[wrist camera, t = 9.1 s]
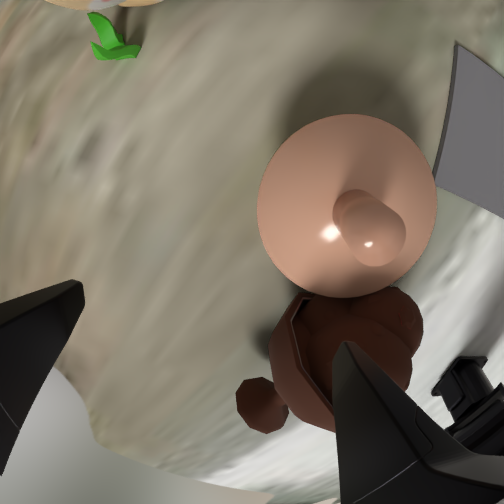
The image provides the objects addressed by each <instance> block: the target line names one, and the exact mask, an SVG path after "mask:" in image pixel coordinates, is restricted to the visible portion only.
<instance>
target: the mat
mask: <svg viewBox="0 0 504 504" xmlns="http://www.w3.org/2000/svg"><path fill="white" fill-rule="evenodd" d="M432 174H433V178H434V182H435V185H436V186H438V187H440V188H443V189H445V190H447V191H449V192H452V193H454V194H456V195H458V196H460V197H462V198H464V199H466V200H469V201H471V202H473V203H475V204H477V205H479V206H481V207H483V208H484V209H486V210H488V211H490V212H492V213H494V214H496V215H498V216H499V217H501V218H503V219H504V78H503V77H502V76H500V75H499V74H498V73H497V72H495V71H494V70H493V69H492V68H490V67H489V66H488V65H486V64H485V63H484V62H482V61H481V60H480V59H478V58H477V57H476V56H474V55H473V54H471V53H470V52H468V51H467V50H465V49H464V48H462V47H461V46H459V45H456V46H454V59H453V69H452V78H451V86H450V93H449V99H448V106H447V111H446V117H445V122H444V127H443V132H442V136H441V141H440V145H439V149H438V154H437V158H436V161H435V165H434V169H433V173H432Z"/></svg>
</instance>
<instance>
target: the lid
mask: <svg viewBox="0 0 504 504" xmlns="http://www.w3.org/2000/svg"><path fill="white" fill-rule="evenodd" d="M436 211H437V194H436V187H435V182H434V178H433V174H432V171H431V169H430V166H429V164H428V162H427V160H426V158H425V156H424V155H423V153H422V152H421V150H420V149H419V147H418V146H417V145H416V144H415V143H414V142H413V140H412V139H411V138H410V137H408V136H407V135H406V134H405V133H404V132H403V131H401V130H400V129H398V128H397V127H395V126H394V125H392V124H390V123H388V122H386V121H383V120H381V119H378V118H375V117H371V116H367V115H360V114H341V115H335V116H329V117H325V118H322V119H319V120H316V121H314V122H312V123H310V124H308V125H306V126H304V127H302V128H300V129H299V130H298V131H296V132H295V133H293V134H292V135H291V136H290V137H289V138H288V139H287V140H285V141H284V142H283V143H282V145H281V146H280V147H279V148H278V149H277V151H276V152H275V153H274V155H273V156H272V158H271V160H270V161H269V163H268V165H267V167H266V170H265V172H264V174H263V177H262V181H261V184H260V188H259V194H258V202H257V219H258V226H259V231H260V235H261V239H262V242H263V244H264V246H265V249H266V251H267V253H268V255H269V256H270V258H271V259H272V261H273V263H274V264H275V265H276V266H277V268H278V269H279V270H280V271H281V272H282V273H283V274H284V275H285V276H286V277H287V278H288V279H290V280H291V281H292V282H294V283H295V284H297V285H298V286H300V287H302V288H304V289H306V290H308V291H310V292H313V293H316V294H319V295H323V296H327V297H335V298H351V297H358V296H363V295H367V294H371V293H373V292H376V291H379V290H381V289H383V288H385V287H387V286H389V285H390V284H392V283H393V282H395V281H396V280H398V279H399V278H400V277H402V276H403V275H404V274H405V273H406V272H407V271H408V270H409V269H410V268H411V267H412V266H413V265H414V264H415V263H416V261H417V260H418V259H419V257H420V256H421V254H422V253H423V251H424V249H425V247H426V246H427V244H428V241H429V239H430V237H431V234H432V231H433V227H434V224H435V218H436Z"/></svg>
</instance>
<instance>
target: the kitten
mask: <svg viewBox="0 0 504 504" xmlns="http://www.w3.org/2000/svg"><path fill="white" fill-rule="evenodd" d="M45 1H47V2H50V3H52V4H56V5H59V6H63V7H67V8H71V9H77V10H100V9H105V8H109V7H112V6H115V5H119V6H124V7H135V6H146V5H152V4H156V3H159V2H161V1H163V0H45ZM87 15H88V16H89V19H90V21H91V23H92V25H93V26H94V28H95V29H96V31H97V33H98V35H99V38H100V41H101V44H102V46H103V47H104V48H103V47H101V46H99V45H97V44H95V43H93V42H91V45H92V49H93V52H94V55H95V57H96V58H97V59H98V60H112V59H115V60H120V59H125V58H136V56H137V55H138V53H139V51H140V49H141V47H140V46H138V45H125V43H124V42H123V35H121V34H117V32H116V30H115V29H114V27H113V25H112V23H111V21H110V20H109V19H108V18H107V17H105V16H104V15H102V14H100V13H98V12H91V13H87Z"/></svg>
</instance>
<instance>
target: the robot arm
mask: <svg viewBox="0 0 504 504" xmlns="http://www.w3.org/2000/svg"><path fill="white" fill-rule="evenodd" d="M84 306H85V297H84V289H83V284H82V283H81V282H80V281H77V280H73V279H71V280H68V281H65V282H62V283H59V284H56V285H53V286H50V287H47V288H44V289H41V290H38V291H35V292H32V293H29V294H26V295H23V296H20V297H17V298H15V299H12V300H9V301H6V302H3V303H0V475H1V476H2V474H3V472H4V469H5V466H6V464H7V461H8V458H9V456H10V453H11V451H12V448H13V446H14V444H15V441H16V439H17V437H18V434H19V432H20V429H21V427H22V425H23V423H24V421H25V419H26V417H27V414H28V412H29V410H30V408H31V406H32V404H33V402H34V400H35V398H36V396H37V394H38V392H39V391H40V389H41V387H42V385H43V383H44V381H45V379H46V378H47V375H48V374H49V372H50V370H51V369H52V367H53V365H54V363H55V362H56V360H57V358H58V356H59V355H60V353H61V351H62V350H63V348H64V346H65V345H66V343H67V341H68V339H69V337H70V335H71V333H72V331H73V329H74V327H75V325H76V323H77V321H78V319H79V317H80V315H81V313H82V311H83V309H84ZM487 361H488V359H487V357H459V358H457V359H456V360H455V362H454V363H453V365H452V366H451V367H450V369H449V370H448V372H447V373H446V374H445V376H444V377H443V378H442V379H441V381H440V382H439V383H438V385H437V386H436V387H435V388H434V389H433V391H432V392H431V395H432V396H442V398H443V400H444V402H445V405H446V407H447V409H448V411H450V413H451V415H452V417H453V420H454V422H455V423H453V424H452V425H451V426H449V427H447V428H445V429H442V428H441V427H440V426H439V425H438V424H437V423H436V422H434V421H433V420H432V419H431V418H430V417H429V416H428V415H427V414H426V413H425V412H424V411H423V410H422V409H421V408H420V407H419V406H417V404H416V403H415V402H414V401H413V400H412V399H411V398H410V397H409V396H408V395H407V394H406V393H405V392H404V391H403V390H402V389H401V388H400V387H399V386H398V385H397V384H396V383H395V382H394V381H393V380H392V379H391V378H390V377H389V376H388V375H387V374H386V373H385V372H384V371H383V370H382V369H381V368H380V367H379V366H378V365H377V364H376V363H375V362H374V361H373V360H372V359H371V358H370V357H369V356H368V355H367V354H366V353H365V352H364V351H363V350H362V349H361V348H360V347H359V346H358V345H357V344H356V343H355V342H351V341H343V342H342V343H341V345H340V346H339V348H338V350H337V352H336V354H335V356H334V358H333V362H332V400H333V412H334V421H335V431H336V442H337V453H338V466H339V480H340V499H341V504H504V401H503V400H504V385H503V384H502V383H500V384H499V385H498V386H497V387H496V388H495V389H494V388H493V386H492V385H491V383H490V381H489V380H488V378H487V377H486V375H485V373H484V372H483V370H482V368H483V367H484V365H485V364H486V362H487Z"/></svg>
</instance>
